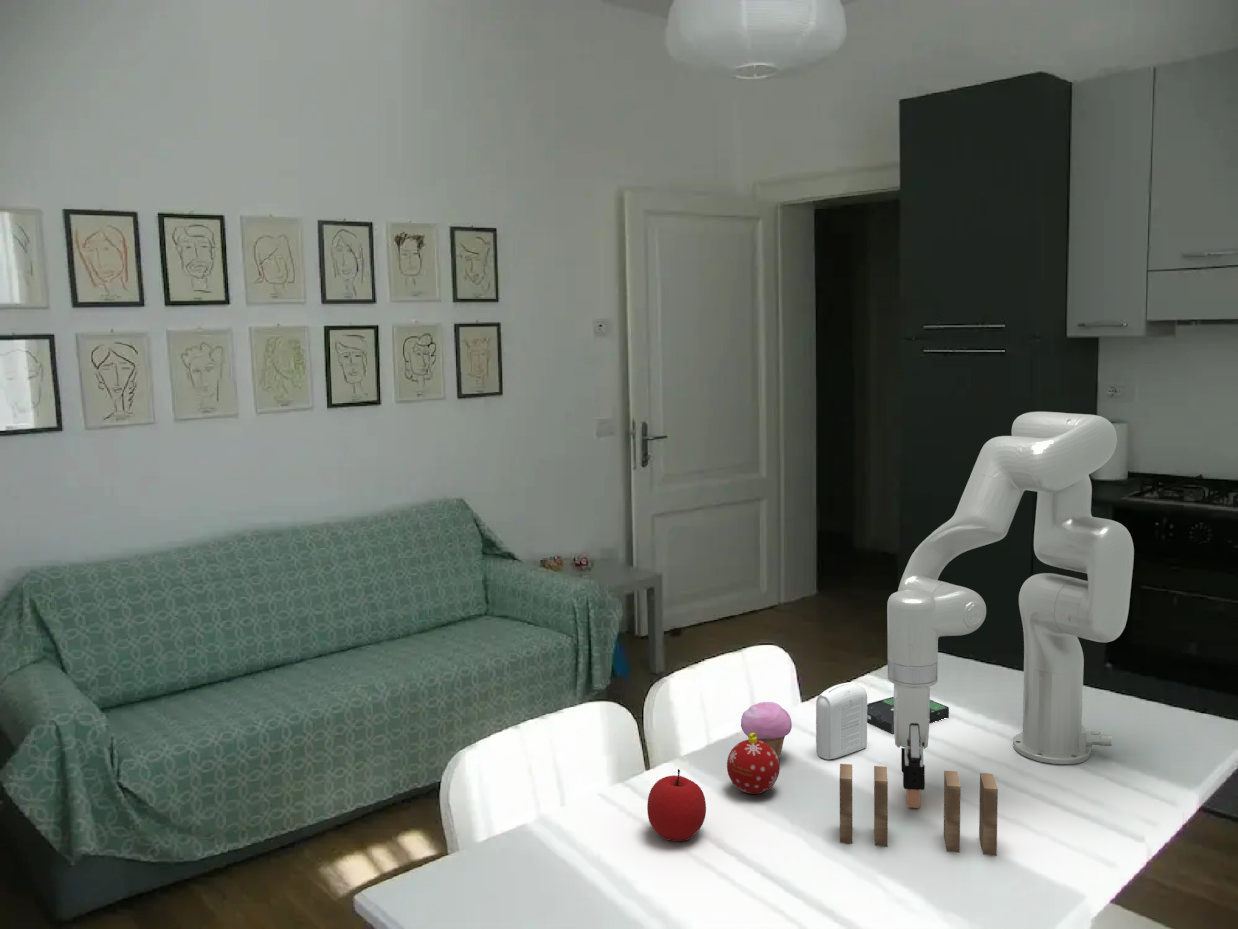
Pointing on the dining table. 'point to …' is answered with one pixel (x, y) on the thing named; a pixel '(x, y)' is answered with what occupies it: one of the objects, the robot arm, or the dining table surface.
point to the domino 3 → (912, 793)
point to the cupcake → (767, 724)
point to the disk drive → (883, 713)
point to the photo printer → (841, 720)
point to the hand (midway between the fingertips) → (912, 779)
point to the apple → (676, 808)
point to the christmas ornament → (753, 765)
